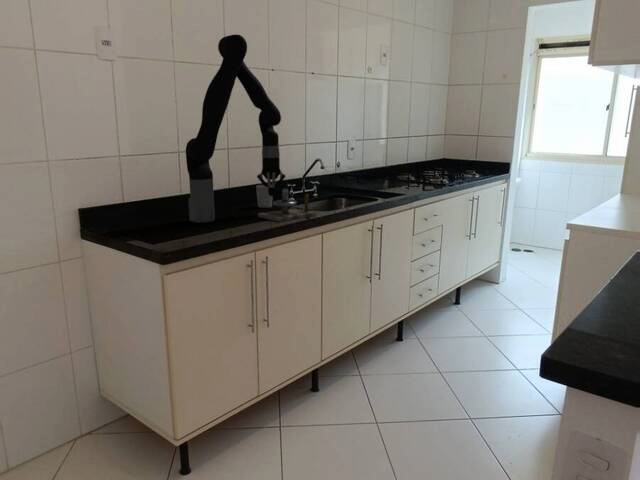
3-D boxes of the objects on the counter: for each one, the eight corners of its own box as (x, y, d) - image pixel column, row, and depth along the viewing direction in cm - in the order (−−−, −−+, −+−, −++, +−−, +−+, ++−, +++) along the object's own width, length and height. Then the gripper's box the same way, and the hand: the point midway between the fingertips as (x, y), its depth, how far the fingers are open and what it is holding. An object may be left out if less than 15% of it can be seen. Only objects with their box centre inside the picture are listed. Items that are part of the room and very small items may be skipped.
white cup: (261, 208, 232) (261, 187, 230) (253, 206, 239) (253, 185, 236) (276, 206, 237) (275, 186, 235) (268, 204, 243) (267, 184, 241)
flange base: (279, 221, 201) (279, 199, 198) (257, 216, 211) (257, 196, 209) (316, 215, 214) (316, 195, 212) (294, 211, 224) (293, 191, 222)
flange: (296, 206, 205) (296, 194, 204) (272, 206, 205) (272, 194, 204) (296, 199, 223) (296, 188, 222) (274, 199, 222) (274, 188, 221)
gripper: (254, 157, 211) (256, 197, 215) (285, 156, 212) (286, 197, 216) (256, 155, 219) (257, 194, 223) (286, 155, 219) (286, 194, 223)
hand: (271, 195), depth 219 cm, fingers closed
